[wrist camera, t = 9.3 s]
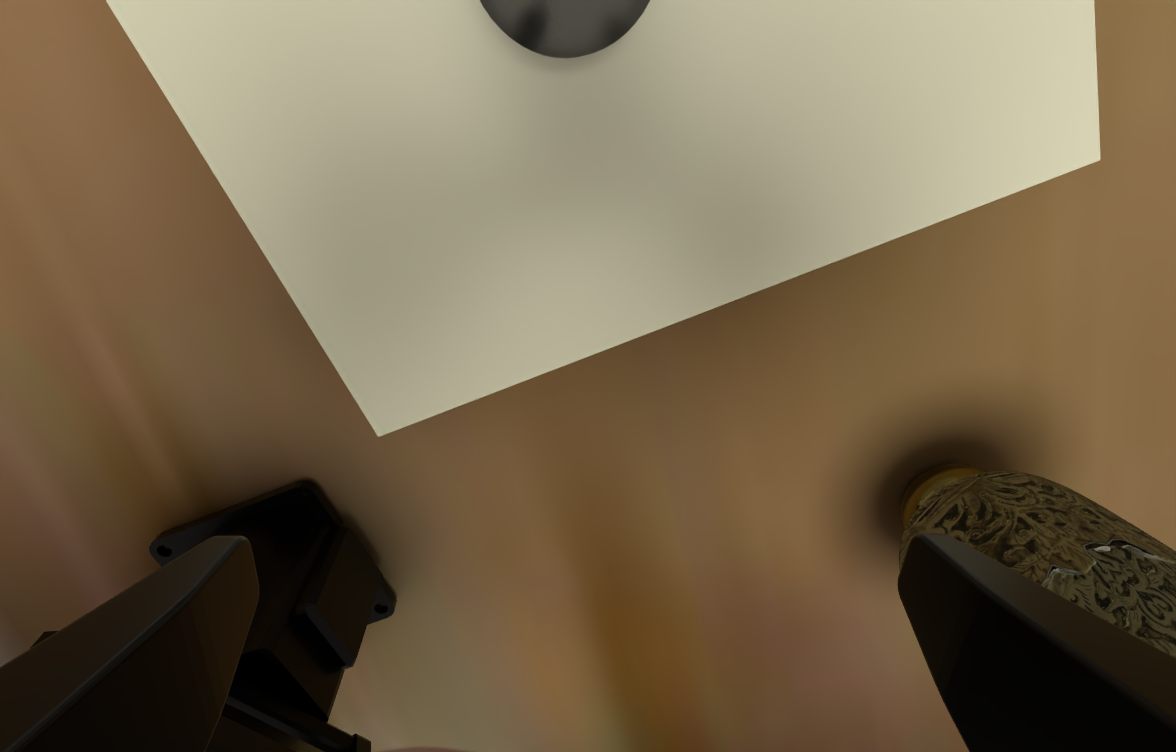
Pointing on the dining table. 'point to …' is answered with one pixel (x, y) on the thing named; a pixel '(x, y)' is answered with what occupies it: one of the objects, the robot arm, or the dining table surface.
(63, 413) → the dining table surface
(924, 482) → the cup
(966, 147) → the dial plate
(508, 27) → the dark knobbed cylinder
